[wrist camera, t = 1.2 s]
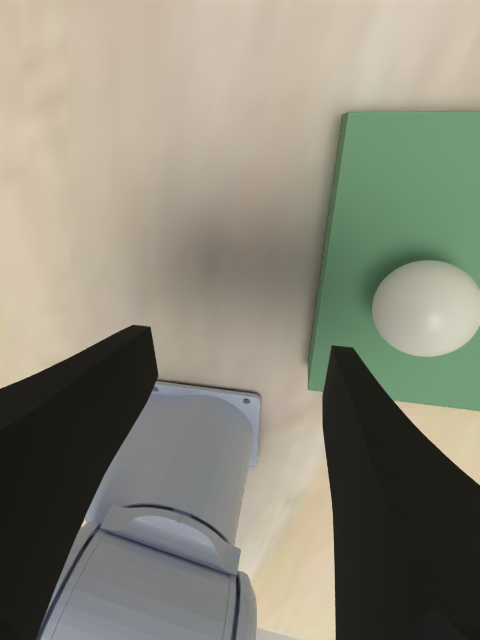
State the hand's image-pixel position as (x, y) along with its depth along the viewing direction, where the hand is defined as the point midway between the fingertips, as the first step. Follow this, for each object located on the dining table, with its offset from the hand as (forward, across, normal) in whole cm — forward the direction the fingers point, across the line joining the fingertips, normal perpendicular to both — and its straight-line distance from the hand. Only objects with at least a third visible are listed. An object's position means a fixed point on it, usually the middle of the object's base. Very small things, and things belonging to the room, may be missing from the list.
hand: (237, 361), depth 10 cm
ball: (+5, -7, 0) cm, 9 cm away
